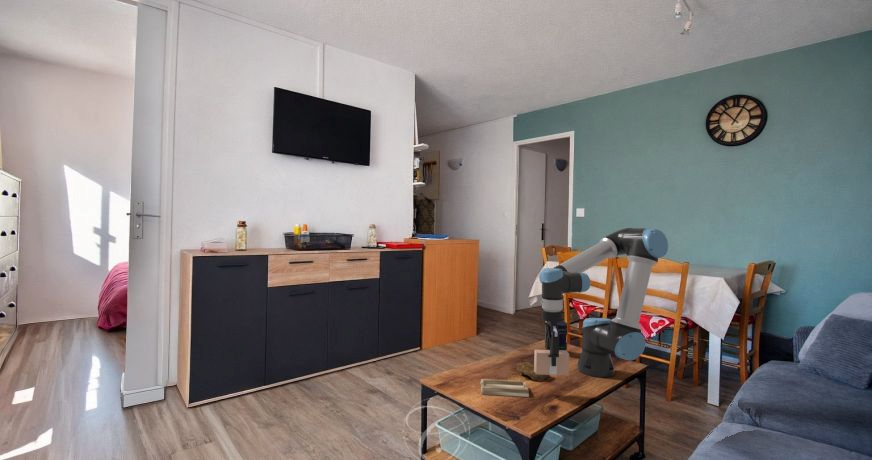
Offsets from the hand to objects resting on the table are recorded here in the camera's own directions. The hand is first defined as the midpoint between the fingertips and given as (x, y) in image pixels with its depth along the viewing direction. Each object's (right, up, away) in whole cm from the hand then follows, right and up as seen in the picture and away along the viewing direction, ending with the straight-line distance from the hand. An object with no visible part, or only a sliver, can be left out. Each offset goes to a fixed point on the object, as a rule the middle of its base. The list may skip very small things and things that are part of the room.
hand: (551, 371), depth 147 cm
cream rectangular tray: (-18, -7, +1) cm, 19 cm away
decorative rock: (-4, -8, +18) cm, 20 cm away
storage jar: (+17, -8, +49) cm, 52 cm away
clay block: (0, -1, 0) cm, 1 cm away
